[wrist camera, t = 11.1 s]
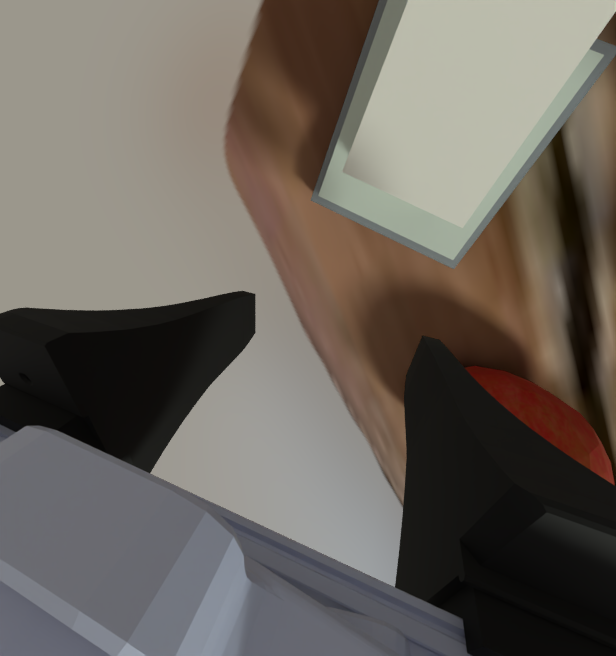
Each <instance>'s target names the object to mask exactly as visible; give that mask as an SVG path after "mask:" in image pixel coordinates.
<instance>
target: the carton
mask: <svg viewBox="0 0 616 656" xmlns="http://www.w3.org/2000/svg"><path fill="white" fill-rule="evenodd" d="M615 12H616V0H408V2H407V4H406V7H405V10H404V12H403V15H402V17H401V20H400V23H399V25H398V28H397V30H396V33H395V36H394V38H393V41H392V43H391V46H390V49H389V51H388V54H387V56H386V59H385V62H384V64H383V67H382V69H381V72H380V74H379V77H378V80H377V82H376V85H375V87H374V90H373V93H372V95H371V98H370V100H369V103H368V106H367V108H366V111H365V113H364V116H363V119H362V121H361V124H360V126H359V129H358V132H357V134H356V137H355V139H354V142H353V145H352V147H351V150H350V152H349V155H348V158H347V160H346V163H345V165H344V168H343V171H342V172H343V173H346V174H348V175H350V176H352V177H354V178H356V179H358V180H360V181H363V182H365V183H367V184H369V185H371V186H373V187H375V188H378V189H380V190H382V191H384V192H386V193H388V194H390V195H393V196H395V197H397V198H399V199H401V200H403V201H405V202H408V203H410V204H412V205H414V206H416V207H418V208H420V209H423V210H425V211H427V212H429V213H431V214H433V215H435V216H437V217H440V218H442V219H444V220H446V221H448V222H450V223H452V224H455V225H457V226H459V227H461V228H463V227H464V226H465V224H466V223H467V221H468V220H469V218H470V217H471V216H472V214H473V213H474V211H475V210H476V209H477V207H478V206H479V204H480V203H481V201H482V200H483V199H484V197H485V196H486V194H487V193H488V192H489V190H490V189H491V187H492V186H493V184H494V183H495V182H496V180H497V179H498V177H499V176H500V175H501V173H502V172H503V170H504V169H505V168H506V166H507V165H508V163H509V162H510V160H511V159H512V158H513V156H514V155H515V153H516V152H517V151H518V149H519V148H520V146H521V145H522V143H523V142H524V141H525V139H526V138H527V136H528V135H529V134H530V132H531V131H532V129H533V128H534V126H535V125H536V124H537V122H538V121H539V119H540V118H541V117H542V115H543V114H544V112H545V111H546V109H547V108H548V107H549V105H550V104H551V102H552V101H553V100H554V98H555V97H556V95H557V94H558V92H559V91H560V90H561V88H562V87H563V85H564V84H565V83H566V81H567V80H568V78H569V77H570V75H571V74H572V73H573V71H574V70H575V68H576V67H577V66H578V64H579V63H580V61H581V60H582V58H583V57H584V56H585V54H586V53H587V51H588V50H589V49H590V47H591V46H592V44H593V43H594V42H595V40H596V39H597V37H598V36H599V34H600V33H601V32H602V30H603V29H604V27H605V26H606V25H607V23H608V22H609V20H610V19H611V17H612V16H613V15H614V13H615Z"/></svg>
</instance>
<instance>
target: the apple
mask: <svg viewBox="0 0 616 656" xmlns="http://www.w3.org/2000/svg"><path fill="white" fill-rule="evenodd" d="M465 369H466V370H467V371H468V372H469V373H470V374H471V375H472V377H473V378H474V379H475V380H476V381H477V382H478V383H479V384H480V385H481V386H482V387H483V388H484V389H485V390H486V391H487V392H488V393H489V394H490V395H492V396H493V397H494V398H495V399H496V400H497V401H498V402H499V403H500V404H502V405H503V406H504V407H505V408H506V409H507V410H509V411H510V412H511V413H512V414H513V415H515V416H516V417H517V418H518V419H519V420H521V421H522V422H523V423H525V424H526V425H527V426H528V427H530V428H531V429H532V430H534V431H535V432H536V433H538V434H539V435H540V436H542V437H543V438H545V439H546V440H547V441H549V442H550V443H551V444H553V445H554V446H555V447H557V448H558V449H560V450H561V451H563V452H564V453H566V454H567V455H569V456H570V457H571V458H573V459H574V460H576V461H577V462H579V463H581V464H582V465H584V466H585V467H587V468H588V469H590V470H591V471H593V472H594V473H596V474H598V475H599V476H601V477H602V478H604V479H605V480H607V481H608V482H610V483H612V484H613V485H615V483H614V478H613V472H612V467H611V462H610V460H609V458H608V456H607V454H606V452H605V449H604V447H603V445H602V443H601V442H600V440H599V438H598V436H597V435H596V433H595V431H594V430H593V428H592V427H591V425H590V424H589V423H588V422H587V421H586V420H585V418H584V417H583V416H582V415H581V414H580V413H579V412H577V411H576V410H574V409H573V408H571V407H570V406H569V405H567V404H566V403H564V402H563V401H561V400H560V399H558V398H557V397H555V396H554V395H552V394H551V393H549V392H548V391H546V390H544V389H543V388H541V387H539V386H538V385H536V384H534V383H533V382H531V381H528V380H526V379H524V378H521V377H519V376H516V375H514V374H511V373H509V372H506V371H502V370H496V369H491V368H485V367H479V366H471V367H465Z"/></svg>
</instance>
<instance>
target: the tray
mask: <svg viewBox="0 0 616 656" xmlns="http://www.w3.org/2000/svg"><path fill="white" fill-rule="evenodd" d="M407 2H408V0H379V2H378V5H377V8H376V11H375V14H374V17H373V19H372V22H371V25H370V28H369V31H368V34H367V37H366V40H365V43H364V46H363V49H362V52H361V55H360V57H359V60H358V63H357V66H356V69H355V72H354V75H353V78H352V81H351V84H350V87H349V90H348V93H347V96H346V98H345V101H344V104H343V107H342V110H341V113H340V116H339V119H338V122H337V125H336V128H335V131H334V134H333V136H332V139H331V142H330V145H329V148H328V151H327V154H326V157H325V160H324V163H323V166H322V169H321V172H320V174H319V177H318V180H317V183H316V186H315V189H314V192H313V195H312V198H311V201H313V202H315V203H317V204H320V205H322V206H324V207H326V208H328V209H330V210H332V211H334V212H336V213H338V214H340V215H342V216H344V217H347V218H349V219H351V220H353V221H355V222H357V223H359V224H361V225H363V226H365V227H367V228H369V229H372V230H374V231H376V232H378V233H380V234H382V235H384V236H386V237H388V238H390V239H392V240H394V241H396V242H399V243H401V244H403V245H405V246H407V247H409V248H411V249H413V250H415V251H417V252H419V253H421V254H423V255H426V256H428V257H430V258H432V259H434V260H436V261H438V262H440V263H442V264H444V265H446V266H448V267H450V268H453V269H454V268H455V267H456V266H457V264H458V263H459V262H460V260H461V259H462V258H463V256H464V255H465V254H466V252H467V251H468V250H469V248H470V247H471V246H472V244H473V243H474V242H475V241H476V239H477V238H478V237H479V235H480V234H481V233H482V231H483V230H484V229H485V227H486V226H487V225H488V223H489V222H490V221H491V219H492V218H493V217H494V215H495V214H496V213H497V211H498V210H499V209H500V207H501V206H502V205H503V203H504V202H505V201H506V199H507V198H508V197H509V196H510V194H511V193H512V192H513V190H514V189H515V188H516V186H517V185H518V184H519V182H520V181H521V180H522V178H523V177H524V176H525V174H526V173H527V172H528V170H529V169H530V168H531V166H532V165H533V164H534V162H535V161H536V160H537V158H538V157H539V156H540V154H541V153H542V152H543V151H544V149H545V148H546V147H547V145H548V144H549V143H550V141H551V140H552V139H553V137H554V136H555V135H556V133H557V132H558V131H559V129H560V128H561V127H562V125H563V124H564V123H565V121H566V120H567V119H568V117H569V116H570V115H571V113H572V112H573V111H574V110H575V108H576V107H577V106H578V104H579V103H580V102H581V100H582V99H583V98H584V96H585V95H586V94H587V92H588V91H589V90H590V88H591V87H592V86H593V84H594V83H595V82H596V80H597V79H598V78H599V76H600V75H601V74H602V72H603V71H604V70H605V68H606V67H607V66H608V65H609V63H610V62H611V61H612V59H613V58H614V57H615V55H616V46H614V45H612V44H609V43H607V42H604V41H601V40H599V39H596V40H595V42H594V43H593V44H592V46H591V47H590V49H589V50H588V51H587V53H586V54H585V56H584V57H583V58H582V60H581V61H580V63H579V64H578V66H577V67H576V68H575V70H574V71H573V73H572V74H571V75H570V77H569V78H568V80H567V81H566V83H565V84H564V85H563V87H562V88H561V90H560V91H559V92H558V94H557V95H556V97H555V98H554V100H553V101H552V102H551V104H550V105H549V107H548V108H547V109H546V111H545V112H544V114H543V115H542V117H541V118H540V119H539V121H538V122H537V124H536V125H535V126H534V128H533V129H532V131H531V132H530V134H529V135H528V136H527V138H526V139H525V141H524V142H523V143H522V145H521V146H520V148H519V149H518V151H517V152H516V153H515V155H514V156H513V158H512V159H511V160H510V162H509V163H508V165H507V166H506V168H505V169H504V170H503V172H502V173H501V175H500V176H499V177H498V179H497V180H496V182H495V183H494V184H493V186H492V187H491V189H490V190H489V192H488V193H487V194H486V196H485V197H484V199H483V200H482V201H481V203H480V204H479V206H478V207H477V209H476V210H475V211H474V213H473V214H472V216H471V217H470V218H469V220H468V221H467V223H466V224H465V226H464V227H463V228H461V227H459V226H457V225H455V224H452V223H450V222H448V221H446V220H444V219H442V218H440V217H437V216H435V215H433V214H431V213H429V212H427V211H425V210H423V209H420V208H418V207H416V206H414V205H412V204H410V203H408V202H405V201H403V200H401V199H399V198H397V197H395V196H393V195H390V194H388V193H386V192H384V191H382V190H380V189H378V188H375V187H373V186H371V185H369V184H367V183H365V182H363V181H360V180H358V179H356V178H354V177H352V176H350V175H348V174H346V173H343V172H342V171H343V168H344V165H345V163H346V160H347V158H348V155H349V152H350V150H351V147H352V145H353V142H354V139H355V137H356V134H357V132H358V129H359V126H360V124H361V121H362V119H363V116H364V113H365V111H366V108H367V106H368V103H369V100H370V98H371V95H372V93H373V90H374V87H375V85H376V82H377V80H378V77H379V74H380V72H381V69H382V67H383V64H384V62H385V59H386V56H387V54H388V51H389V49H390V46H391V43H392V41H393V38H394V36H395V33H396V30H397V28H398V25H399V23H400V20H401V17H402V15H403V12H404V10H405V7H406V4H407Z"/></svg>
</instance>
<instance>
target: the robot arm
mask: <svg viewBox="0 0 616 656" xmlns="http://www.w3.org/2000/svg"><path fill="white" fill-rule="evenodd" d="M254 334H255V294H253V293H249V292H245V291H238V292H232V293H227V294H222V295H218V296H213V297H209V298H204V299H200V300H195V301H190V302H185V303H179V304H174V305H168V306H161V307H153V308H143V309H127V310H109V311H108V310H106V311H105V310H104V311H83V310H79V311H77V310H55V309H38V308H37V309H36V308H18V309H13V310H10V311H7V312H4V313H1V314H0V378H1V379H2V381H3V382H4V383H5V384H4V385H2V386H0V656H616V486H615V485H613V484H612V483H610V482H608V481H607V480H605V479H604V478H602V477H601V476H599V475H598V474H596V473H594V472H593V471H591V470H590V469H588V468H587V467H585V466H584V465H582V464H581V463H579V462H577V461H576V460H574V459H573V458H571V457H570V456H569V455H567V454H566V453H564V452H563V451H561V450H560V449H558V448H557V447H555V446H554V445H553V444H551V443H550V442H549V441H547V440H546V439H545V438H543V437H542V436H540V435H539V434H538V433H536V432H535V431H534V430H532V429H531V428H530V427H528V426H527V425H526V424H525V423H523V422H522V421H521V420H519V419H518V418H517V417H516V416H515V415H513V414H512V413H511V412H510V411H509V410H507V409H506V408H505V407H504V406H503V405H502V404H500V403H499V402H498V401H497V400H496V399H495V398H494V397H493V396H492V395H490V394H489V393H488V392H487V391H486V390H485V389H484V388H483V387H482V386H481V385H480V384H479V383H478V382H477V381H476V380H475V379H474V378H473V377H472V375H471V374H470V373H469V372H468V371H467V370H466V369H465V368H464V367H463V366H462V365H461V363H460V362H459V361H458V360H457V359H456V358H455V357H454V355H453V354H452V353H451V352H450V351H449V350H448V349H447V347H446V346H445V345H444V344H443V343H442V342H441V341H440V340H438V339H434V338H430V337H426V336H422V338H421V341H420V343H419V345H418V348H417V350H416V353H415V355H414V358H413V360H412V363H411V365H410V367H409V370H408V372H407V375H406V382H405V392H404V407H405V427H406V446H407V462H406V478H405V493H404V506H403V518H402V528H401V539H400V550H399V558H398V567H397V576H396V584H395V587H393V586H391V585H389V584H386V583H384V582H382V581H380V580H378V579H376V578H373V577H371V576H369V575H367V574H365V573H362V572H360V571H358V570H356V569H354V568H352V567H350V566H348V565H345V564H343V563H341V562H339V561H337V560H335V559H332V558H330V557H328V556H326V555H324V554H322V553H319V552H317V551H315V550H313V549H311V548H309V547H307V546H305V545H302V544H300V543H298V542H296V541H294V540H292V539H289V538H287V537H285V536H283V535H281V534H279V533H277V532H274V531H272V530H270V529H268V528H266V527H264V526H261V525H259V524H257V523H255V522H253V521H251V520H249V519H246V518H244V517H242V516H240V515H238V514H236V513H233V512H231V511H229V510H227V509H225V508H223V507H221V506H218V505H216V504H214V503H212V502H210V501H208V500H205V499H203V498H201V497H199V496H197V495H195V494H193V493H190V492H188V491H186V490H184V489H182V488H180V487H178V486H176V485H174V484H171V483H169V482H167V481H165V480H163V479H161V478H158V477H156V476H154V475H152V474H150V472H151V471H152V469H153V467H154V466H155V464H156V462H157V461H158V459H159V458H160V456H161V454H162V452H163V451H164V449H165V448H166V446H167V445H168V443H169V442H170V440H171V438H172V437H173V436H174V434H175V433H176V431H177V429H178V428H179V426H180V425H181V424H182V422H183V420H184V419H185V418H186V416H187V415H188V414H189V412H190V411H191V409H192V408H193V407H194V405H195V404H196V403H197V401H198V400H199V399H200V397H201V396H202V395H203V393H204V392H205V391H206V389H207V388H208V387H209V386H210V385H211V384H212V382H213V381H214V380H215V379H216V378H217V377H218V376H219V375H220V374H221V373H222V372H223V371H224V370H225V369H226V368H227V366H229V364H230V363H231V362H232V361H233V360H234V359H235V358H236V357H237V356H238V355H239V354H240V353H241V352H242V351H243V349H244V348H245V347H246V345H247V344H248V343H249V341H250V340H251V338H252V337H253V335H254Z"/></svg>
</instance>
